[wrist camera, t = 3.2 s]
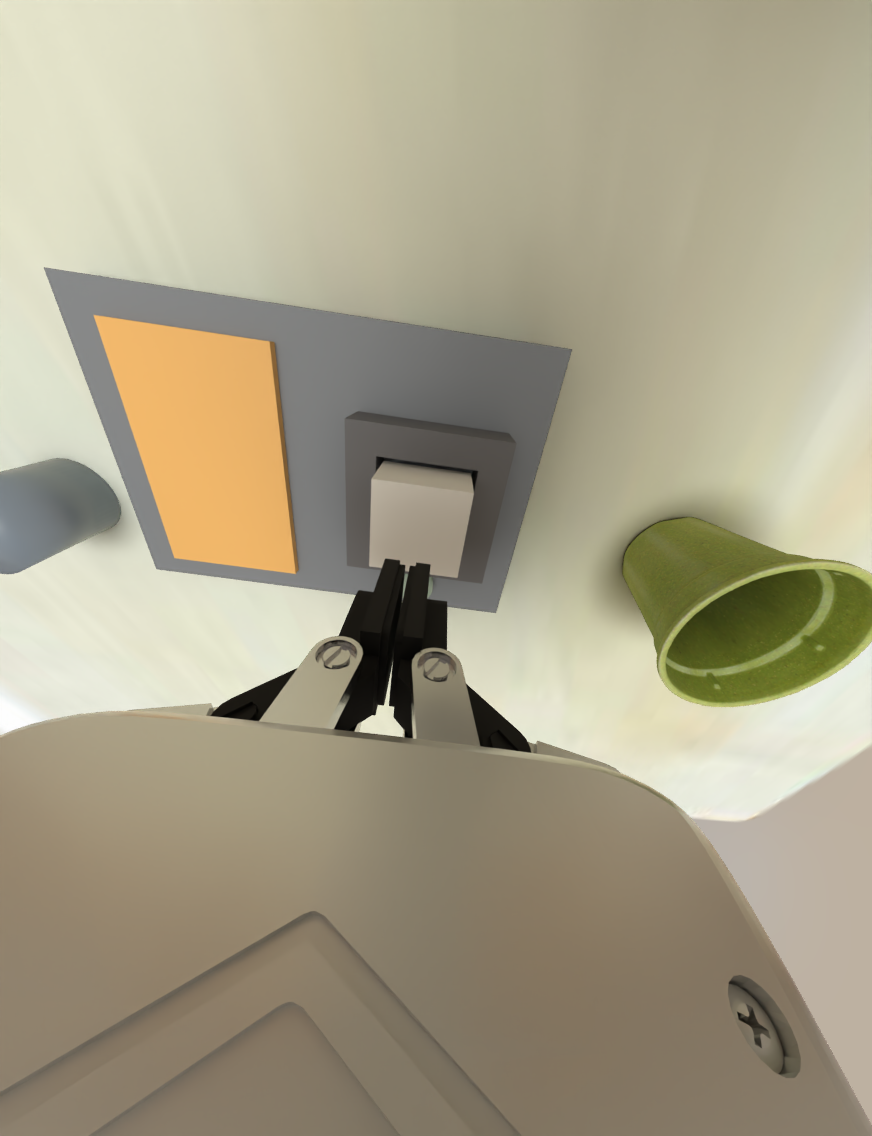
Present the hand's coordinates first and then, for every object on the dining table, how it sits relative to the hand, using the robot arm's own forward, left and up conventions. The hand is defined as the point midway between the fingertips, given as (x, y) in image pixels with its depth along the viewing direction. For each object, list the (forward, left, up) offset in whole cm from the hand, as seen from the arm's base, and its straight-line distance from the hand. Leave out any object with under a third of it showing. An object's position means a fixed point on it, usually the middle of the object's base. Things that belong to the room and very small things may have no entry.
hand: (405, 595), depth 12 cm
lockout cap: (+20, -12, -11) cm, 26 cm away
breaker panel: (+4, -4, -11) cm, 12 cm away
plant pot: (-12, +13, -11) cm, 21 cm away
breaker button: (-1, -1, -7) cm, 7 cm away
